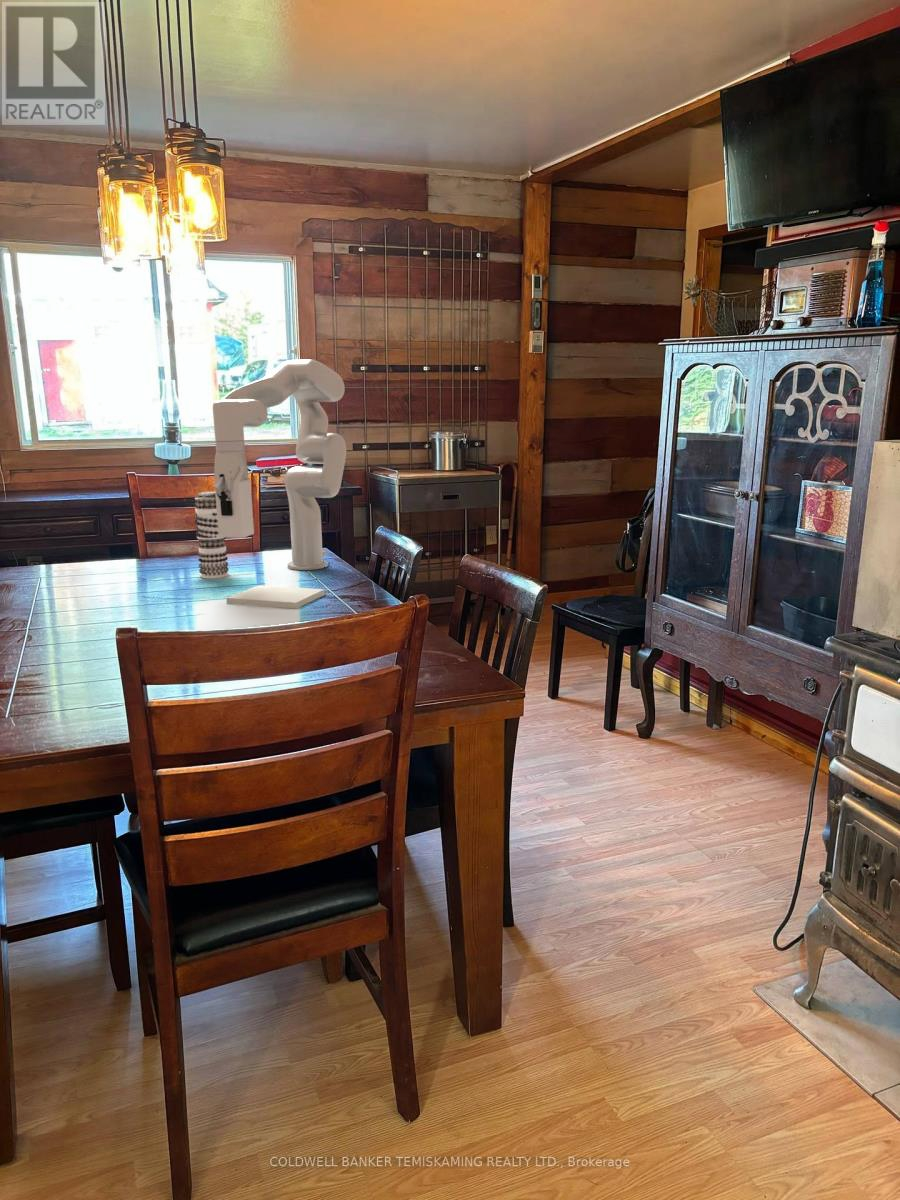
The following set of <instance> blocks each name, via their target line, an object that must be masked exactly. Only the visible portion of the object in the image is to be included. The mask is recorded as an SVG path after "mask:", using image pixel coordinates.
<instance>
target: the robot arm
mask: <svg viewBox="0 0 900 1200" xmlns="http://www.w3.org/2000/svg"><path fill="white" fill-rule="evenodd" d="M343 380H344V379H343V378H342V377H341V376H340V374H339V373H337V372H336V371H335V370H333V369H331V368H330V367H328V365H325V364H324V363H322V362H320V361H318V360H316V359H312V358H311V359H309V358H308V359H290V360H285V361H283V362H282V363H280V364H279V365H277V366H276V367H275V368H274V369H273V370H271V371H270V372H269V373H268V374H266V375H265V376H264V377H262V378H260V379H258V380H255V381H253V382H250V383H248V384H245V385H243V386H240V387H237V388H236V389H233V390H232V391H230V392H229V393H227V394H226V395H225V396H224V397H222V398H221V399H220V400H216V401H214V402H213V404H212V419H213V430H214V439H215V440H214V441H215V442H214V443H215V444H214V445H215V452H216V453H215V454H214V455H215V456H214V467H213V468H214V473H213V474H214V475H213V476H214V486H213V487H214V488H213V489H214V492H215V491H216V493H217V496H218V497H219V501H220V504H221V515H222V516H232V515H233V511H232V501H230V498H231V491H232V490H233V482H234V480H235V479H236V477H237V475H238V474H239V472H240V466H244V471H245V472H246V474H247V475H248V476H249V472H248V470H249V469H248V463H247V457H246V449H245V448H246V447H245V434H244V433H245V431H244V428H258V427H260V426H262V425H264V424H265V422H266V421H267V420H268V414H269V412H268V409H270V408H273V407H277V406H279V405H281V404H282V403H284V402H285V401H286V400H287V399H288V398H290V396H292V395H293V398H294V400H295V402H296V404H297V406H298V408H299V412H300V425H299V429H298V436H297V438H296V439H297V440H296V446H295V455H296V459H298V461H300V462H302V463H304V464H312V465H296V466H293V467H291V468H289V469H288V470H287V471H286V473H285V475H284V486H285V491H286V495H287V498H288V499H287V500H288V507H289V508H288V509H289V521H290V522H289V523H290V525H289V526H290V539H291V540H290V541H291V543H290V545H291V559H292V561H289V562H288V563H287V568H288V569H290V570H294V571H312V570H320V569H324V567H325V568H327V567H328V566H329V564H328V563H329V562H328V561H326V560H324V559H323V558H324V557H326V556H327V550H323V536H322V533H323V532H322V515H321V513H322V512H321V507H320V506H319V504H318V502H317V500H316V499H315V498H321V499H322V498H323V499H327V498H328V499H331V498H334V497H335V496H336V495H338V494H339V492H340V489H341V486H342V480H343V475H344V474H343V473H344V469H345V466H346V465H345V464H346V458H347V444H346V441H345V439H344V438H343V436H342V435H341V434H339V433H336V432H328V428H329V417H328V415H327V413H326V411H325V410H324V408H323V407H322V405H321V403H333V402H334V403H335V402H338V401H340V400H341V399H342V398H343V396H344V394H345V382H344V381H343ZM317 464H319V465H320V466H318V465H317ZM321 465H323V466H321ZM240 480H245V477H244V475H243V474H242V477H241V479H240ZM224 482H225V483H226V485H227V486H228V489H222V486H223V484H224ZM225 492H227V495H226V494H225Z"/></svg>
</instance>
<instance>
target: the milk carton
mask: <svg viewBox="0 0 900 1200" xmlns="http://www.w3.org/2000/svg"><path fill="white" fill-rule="evenodd" d="M242 474H243V475H244V477H245V480H240V479H241V477H242ZM222 489H228V486H227V485H226V483H225V482H224V484H223V486H222ZM214 492H215V494H216V507H217V520H218V533H219V537H224V538H229V539H232V538H233V539H243V538H246V537H249V536H252V535H254V534H255V530H254V529H255V528H254V526H255V525H254V515H253V514H254V512H253V511H254V510H253V499H252V498H253V497H252V496H253V495H252V481H251V479H250V477H249V474H248V475H247V474H246V472H245V471H244V466H240V472H239V474H238V475H237V477H236V479H235V480H234V482H233V490H232V491H231V498H230V501H232V511H233V515H232V516H222V515H221V504H220V501H219V497H218V496H217V493H216V491H215V490H214ZM225 494H226V495H227V492H225Z"/></svg>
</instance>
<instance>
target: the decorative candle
mask: <svg viewBox="0 0 900 1200" xmlns="http://www.w3.org/2000/svg"><path fill="white" fill-rule="evenodd" d="M193 499H195V500H194V501H195V514H194V515H193V518H194V522H193V523H194V524H195V525H196V526H195V531H196V533H195V535H196V538H197V540H198V553H197V556H198V557H199V558H198V562H199V564H198V568H199V570H198V571H199V573H200V574H199V577H200V578H201V577H202V578H203V579H221V578H225V577H228V576H229V575H230V573H229V567H228V566H229V562H227V560H228V559H229V558H228V556H227V555H228V552H227V546H226V541H225V537H219V533H218V520H217V507H216V494H215V491H203V492H202V491H201V492H198V493H197V495H196V497H194V498H193Z"/></svg>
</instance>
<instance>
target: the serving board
mask: <svg viewBox="0 0 900 1200" xmlns="http://www.w3.org/2000/svg"><path fill="white" fill-rule="evenodd" d="M323 596H325V589H323V588H322V589H321V588H310V587H309V588H308V587H293V586H278V585H275V586H274V585H263V584H262V585H261V584H260V585H259V584H258V585H255V586H253V587H251V588H248V589H245V590H242V591H240V592H238V593H235V594H232V595H229V596H228V597H226V604H228V603H229V604H228V605H244V606H259V607H272V608H283V609H284V608H286V609H298V608H300V607H303V606H304V605H306V604H308V603H310V602H312V601H315V600H316V599H317V600H318V599H319V598H321V597H323Z"/></svg>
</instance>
